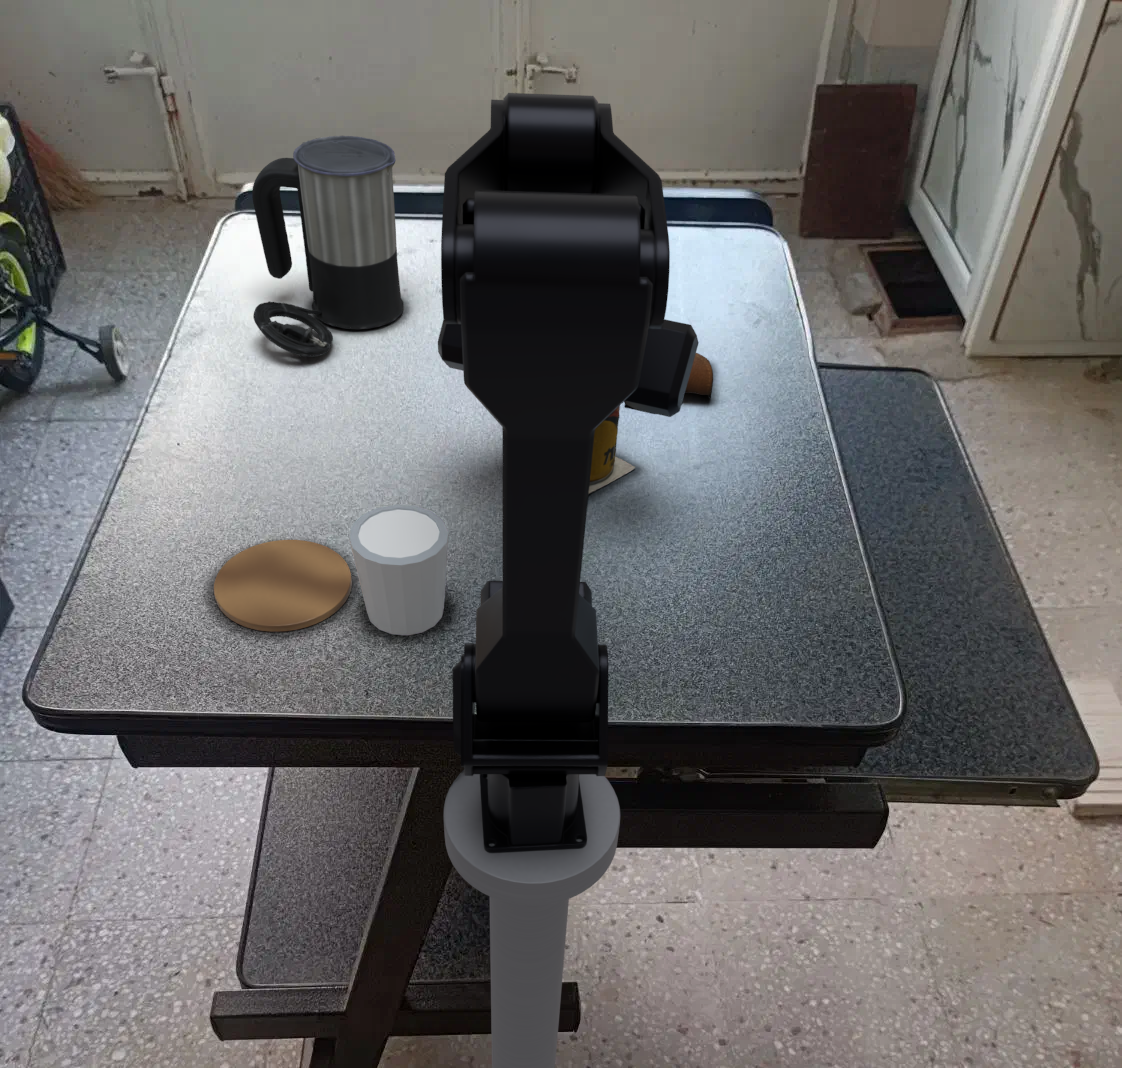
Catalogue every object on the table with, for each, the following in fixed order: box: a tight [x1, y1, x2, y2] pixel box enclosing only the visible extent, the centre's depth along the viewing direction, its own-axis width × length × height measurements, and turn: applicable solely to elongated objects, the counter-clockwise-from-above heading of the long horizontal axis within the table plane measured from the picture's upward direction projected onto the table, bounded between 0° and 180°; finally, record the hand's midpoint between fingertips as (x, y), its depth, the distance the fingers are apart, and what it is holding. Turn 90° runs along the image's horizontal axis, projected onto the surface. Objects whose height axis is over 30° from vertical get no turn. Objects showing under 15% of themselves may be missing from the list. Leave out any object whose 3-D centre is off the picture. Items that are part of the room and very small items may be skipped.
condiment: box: [588, 405, 636, 495], centre depth 88 cm, size 7×8×12 cm
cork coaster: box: [213, 539, 353, 633], centre depth 81 cm, size 10×10×1 cm
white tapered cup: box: [348, 503, 450, 636], centre depth 77 cm, size 7×7×7 cm
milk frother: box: [251, 135, 405, 358], centre depth 102 cm, size 14×16×15 cm
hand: (586, 381), depth 88 cm, fingers open, 9 cm apart
